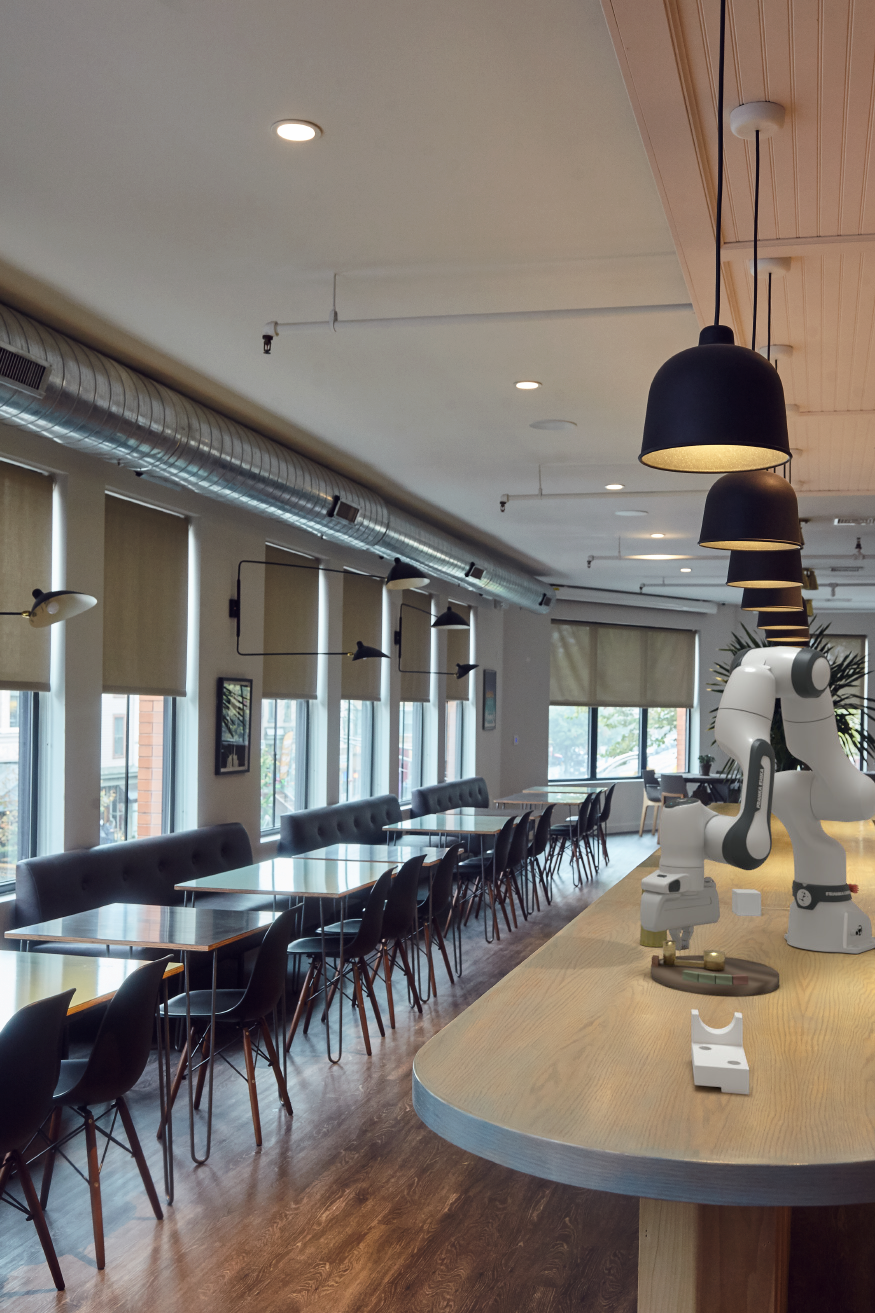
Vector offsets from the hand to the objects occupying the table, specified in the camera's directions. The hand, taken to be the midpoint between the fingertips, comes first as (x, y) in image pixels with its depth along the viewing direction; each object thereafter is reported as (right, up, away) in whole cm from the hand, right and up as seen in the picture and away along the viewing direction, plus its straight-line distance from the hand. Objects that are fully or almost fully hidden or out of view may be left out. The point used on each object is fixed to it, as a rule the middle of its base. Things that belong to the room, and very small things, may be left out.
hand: (681, 949), depth 210 cm
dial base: (+5, -4, -7) cm, 9 cm away
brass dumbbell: (+1, -2, -5) cm, 6 cm away
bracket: (-9, -1, -62) cm, 63 cm away
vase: (0, -6, +24) cm, 25 cm away
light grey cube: (+32, -9, +64) cm, 72 cm away
